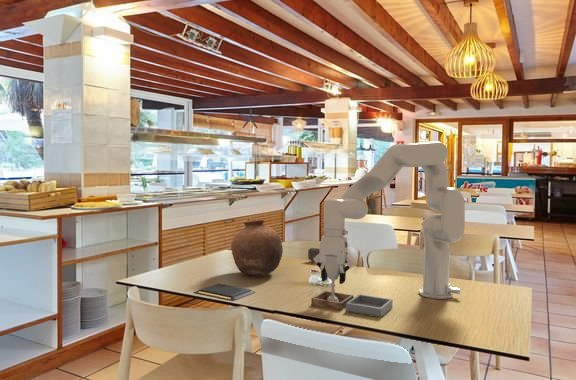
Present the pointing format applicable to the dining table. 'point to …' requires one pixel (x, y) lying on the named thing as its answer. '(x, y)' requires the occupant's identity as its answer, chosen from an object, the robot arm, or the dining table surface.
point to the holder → (331, 304)
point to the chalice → (332, 274)
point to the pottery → (256, 249)
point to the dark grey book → (225, 292)
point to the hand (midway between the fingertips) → (333, 281)
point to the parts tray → (369, 305)
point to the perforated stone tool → (313, 253)
